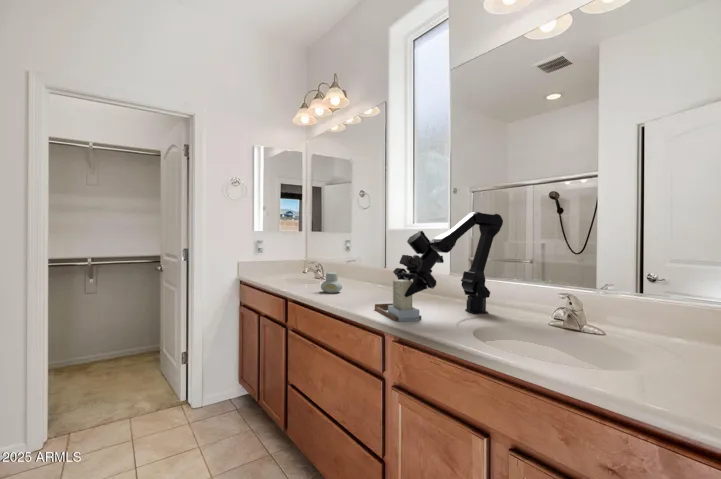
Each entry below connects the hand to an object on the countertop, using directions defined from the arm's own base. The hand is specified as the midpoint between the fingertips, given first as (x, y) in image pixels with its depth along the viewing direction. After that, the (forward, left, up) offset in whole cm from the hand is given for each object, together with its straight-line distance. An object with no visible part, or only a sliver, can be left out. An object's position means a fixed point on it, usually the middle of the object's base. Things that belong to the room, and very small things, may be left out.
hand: (399, 294), depth 122 cm
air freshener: (+9, -64, -9) cm, 65 cm away
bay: (-2, -6, -8) cm, 10 cm away
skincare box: (-1, 0, -7) cm, 7 cm away
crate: (-2, 0, -8) cm, 8 cm away
